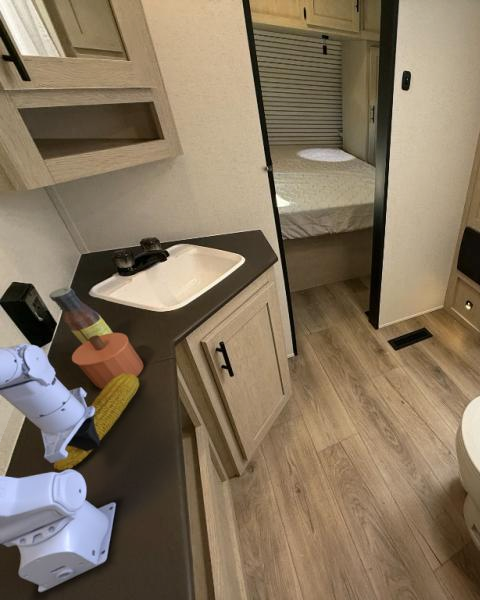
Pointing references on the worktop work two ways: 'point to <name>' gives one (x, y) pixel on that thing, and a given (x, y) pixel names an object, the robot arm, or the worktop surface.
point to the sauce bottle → (79, 315)
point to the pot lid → (100, 349)
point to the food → (104, 414)
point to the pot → (114, 367)
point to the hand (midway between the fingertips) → (93, 446)
